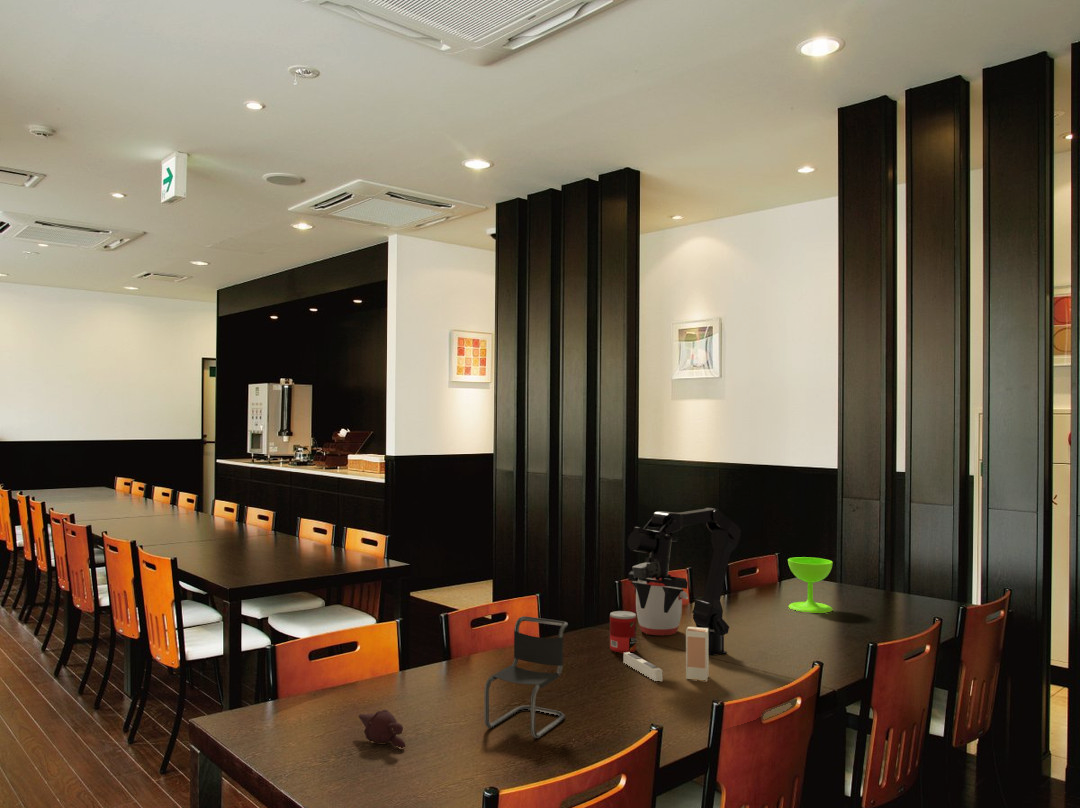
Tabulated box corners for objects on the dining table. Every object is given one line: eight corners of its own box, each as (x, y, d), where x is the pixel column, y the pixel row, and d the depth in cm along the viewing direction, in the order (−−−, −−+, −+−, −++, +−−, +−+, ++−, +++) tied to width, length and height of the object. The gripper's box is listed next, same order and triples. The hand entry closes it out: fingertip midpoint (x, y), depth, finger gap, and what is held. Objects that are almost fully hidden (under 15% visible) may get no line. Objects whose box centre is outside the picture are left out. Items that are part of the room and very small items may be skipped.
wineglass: (839, 614, 287) (839, 564, 288) (795, 613, 288) (795, 564, 288) (824, 604, 303) (824, 557, 304) (782, 604, 304) (782, 557, 304)
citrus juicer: (684, 640, 250) (684, 577, 251) (630, 635, 256) (630, 573, 257) (691, 628, 265) (691, 569, 266) (640, 624, 271) (640, 566, 271)
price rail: (629, 662, 227) (629, 651, 227) (662, 681, 210) (662, 669, 210) (623, 663, 226) (623, 652, 226) (655, 682, 209) (655, 669, 209)
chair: (570, 716, 184) (570, 621, 185) (534, 742, 169) (534, 639, 169) (521, 707, 190) (522, 615, 191) (482, 731, 175) (483, 631, 175)
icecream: (343, 709, 170) (386, 733, 160) (370, 692, 175) (414, 715, 166) (347, 738, 171) (391, 763, 162) (375, 720, 177) (418, 744, 167)
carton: (688, 674, 216) (688, 626, 216) (708, 676, 214) (708, 627, 215) (685, 679, 211) (685, 630, 212) (706, 681, 210) (706, 631, 210)
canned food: (635, 654, 235) (635, 617, 235) (608, 652, 236) (608, 615, 237) (637, 647, 242) (637, 611, 243) (611, 646, 244) (611, 610, 244)
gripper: (617, 549, 230) (611, 604, 227) (663, 554, 215) (657, 612, 212) (644, 554, 236) (638, 607, 233) (691, 559, 222) (685, 615, 218)
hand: (653, 610), depth 224 cm, fingers open, 9 cm apart
